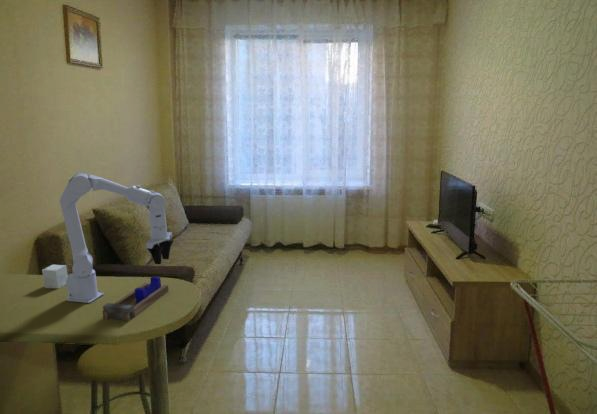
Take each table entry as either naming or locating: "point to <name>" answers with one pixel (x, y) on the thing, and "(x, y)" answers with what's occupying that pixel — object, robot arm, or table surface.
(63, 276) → the skincare box
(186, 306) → the table surface
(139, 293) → the cable clip
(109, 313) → the cable track
